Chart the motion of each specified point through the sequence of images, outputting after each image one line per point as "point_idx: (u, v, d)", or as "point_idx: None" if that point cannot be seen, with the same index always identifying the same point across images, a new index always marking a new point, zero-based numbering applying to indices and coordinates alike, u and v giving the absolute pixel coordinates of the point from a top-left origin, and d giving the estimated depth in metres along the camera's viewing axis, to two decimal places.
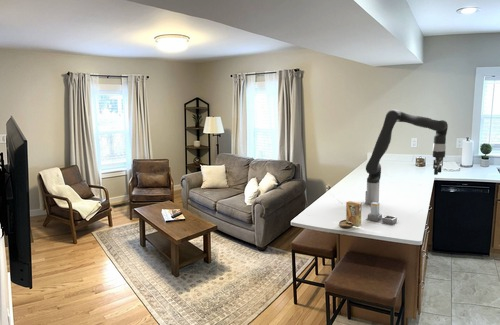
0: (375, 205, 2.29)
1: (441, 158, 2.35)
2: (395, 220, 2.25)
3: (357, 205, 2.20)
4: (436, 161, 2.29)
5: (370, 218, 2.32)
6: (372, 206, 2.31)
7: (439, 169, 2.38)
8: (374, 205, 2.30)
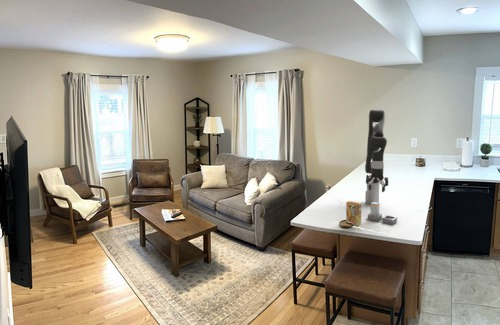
0: (375, 205, 2.29)
1: None
2: (395, 220, 2.25)
3: (357, 205, 2.20)
4: (387, 178, 2.24)
5: (370, 218, 2.32)
6: (372, 206, 2.31)
7: (371, 187, 2.32)
8: (374, 205, 2.30)
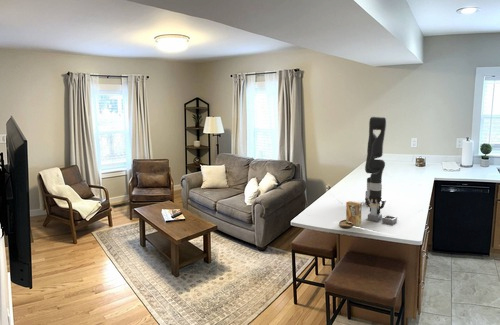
0: (375, 205, 2.29)
1: None
2: (395, 220, 2.25)
3: (357, 205, 2.20)
4: None
5: (370, 218, 2.32)
6: (372, 206, 2.31)
7: None
8: (374, 205, 2.30)
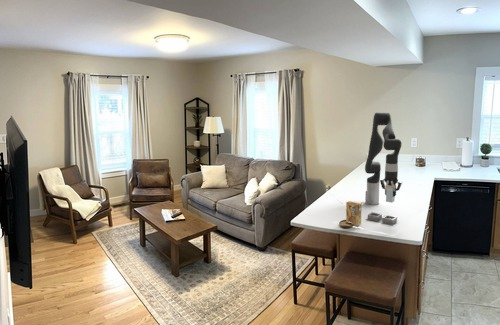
0: (391, 187, 2.20)
1: None
2: (395, 220, 2.25)
3: (357, 205, 2.20)
4: (401, 183, 2.18)
5: (370, 218, 2.32)
6: (388, 188, 2.22)
7: None
8: (390, 187, 2.21)
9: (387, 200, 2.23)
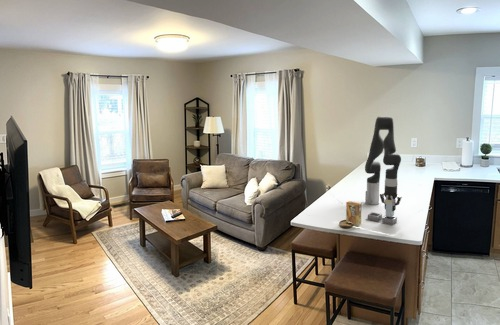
0: (390, 201, 2.22)
1: None
2: (395, 220, 2.25)
3: (357, 205, 2.20)
4: None
5: (370, 218, 2.32)
6: (387, 202, 2.24)
7: None
8: (389, 201, 2.22)
9: (387, 214, 2.25)
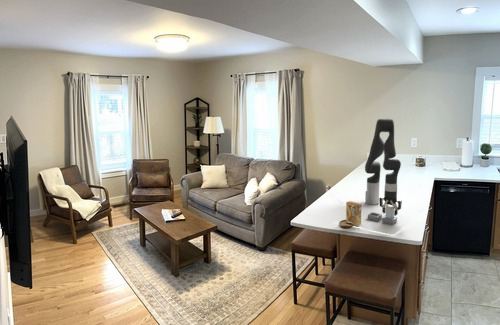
0: (390, 208, 2.23)
1: None
2: (395, 220, 2.25)
3: (357, 205, 2.20)
4: (401, 202, 2.20)
5: (370, 218, 2.32)
6: (387, 209, 2.24)
7: (384, 210, 2.28)
8: (389, 208, 2.23)
9: None
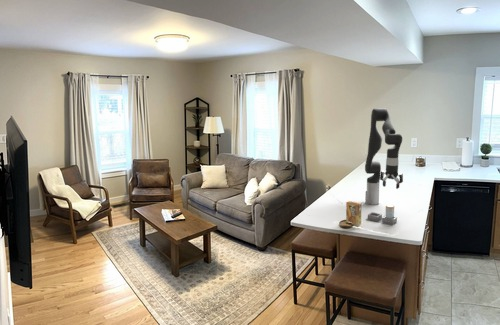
0: (390, 208, 2.23)
1: None
2: (395, 220, 2.25)
3: (357, 205, 2.20)
4: (402, 175, 2.25)
5: (370, 218, 2.32)
6: (387, 209, 2.24)
7: (385, 183, 2.33)
8: (389, 208, 2.23)
9: None
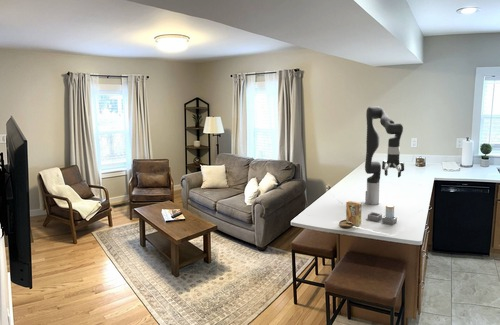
0: (390, 208, 2.23)
1: None
2: (395, 220, 2.25)
3: (357, 205, 2.20)
4: (403, 163, 2.31)
5: (370, 218, 2.32)
6: (387, 209, 2.24)
7: (386, 172, 2.39)
8: (389, 208, 2.23)
9: None
